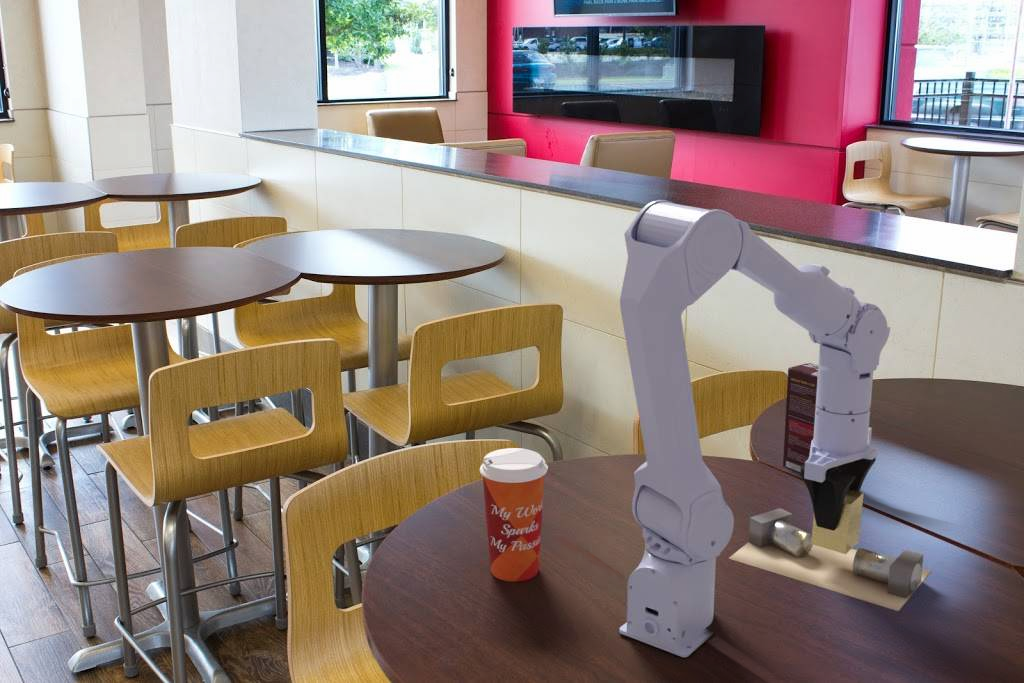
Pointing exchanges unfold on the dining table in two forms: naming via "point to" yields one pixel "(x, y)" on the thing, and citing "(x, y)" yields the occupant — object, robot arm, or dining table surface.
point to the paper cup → (514, 511)
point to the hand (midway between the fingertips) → (834, 520)
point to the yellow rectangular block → (842, 526)
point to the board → (828, 566)
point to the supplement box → (800, 414)
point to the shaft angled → (790, 538)
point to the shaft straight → (880, 567)
